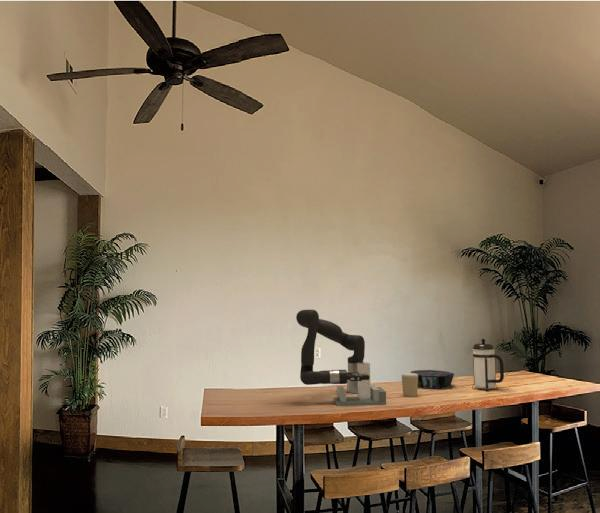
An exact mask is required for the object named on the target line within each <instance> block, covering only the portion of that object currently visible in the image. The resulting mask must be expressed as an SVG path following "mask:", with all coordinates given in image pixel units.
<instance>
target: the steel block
mask: <svg viewBox="0 0 600 513" xmlns="http://www.w3.org/2000/svg"><path fill="white" fill-rule="evenodd" d="M357 369H358V375H362V376H365V375H369V380H362V381H358V393H357V397H358V399H359V400H371V388H370V385H371V363H370V362H363V363H357Z"/></svg>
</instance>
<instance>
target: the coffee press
mask: <svg viewBox="0 0 600 513" xmlns="http://www.w3.org/2000/svg"><path fill="white" fill-rule="evenodd" d="M471 349H472V365H473V366H472V367H473V385H472V386H471V388H472V390H475V389H476V388H477V389H478V388H480V389H485V392H489V391H490V390H489V389H495V390H499V387H498V386H497V384H498V383H501V382H503V381H504V377H505V376H504V375H505V374H504V373H505V371H504V370H505V369H504V368H505V367H504V361H503V358H502V357H501V356H500V355H498V354H495V350H496V347H495V345H494V344H492V343H489V342H486V339H485V338H482V339H481V342H476V343H474V344H473V345H472V348H471ZM496 359H497V360H498V362H499V379H497V378H496V375H497V374H496ZM474 386H475V387H474Z"/></svg>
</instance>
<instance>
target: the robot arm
mask: <svg viewBox="0 0 600 513" xmlns="http://www.w3.org/2000/svg"><path fill="white" fill-rule="evenodd" d="M295 318H296V322H297V323H298V324H299V326H301V327H303V328H306V329H307V335H306V337H305V340H304V342H303V344H302V347H301V350H300V372H299V374H300V375H299V376H300V377H299V378H300V381H301V383H302V384H304V385H306V386H307V385H309V386H312V385H346V392H347V393H350V394H358V381H362V380H369V375H365V376H362V375H358V369H357V363H364V361H365V360H364V359H365V350H366V344H365V343H366V342H365V339H364V337H363V336H362V335H360V334H359V335H358V334H357V335H356V334H348V333H346V332H344V331H343V329H342V327H340V326H339V324H337V323H334V322H332V321H330V320H326V319H322V318H320V315H319V313H318V311H317V310H316V309H302V310H300V311H298V312H297V314H296V316H295ZM317 334H319V335H321V336H323V337H324V338H326V339H328V340H330V341H333V342H335V343H337V344H339V345H340V346H342V347H343V348H345V349H346V350H348V351H350V352H351V351H353V354H352V355H351V356H349V357H347V369H331V370H327V369H326V370H319V371H314V364H315V345H316V340H317Z"/></svg>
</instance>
